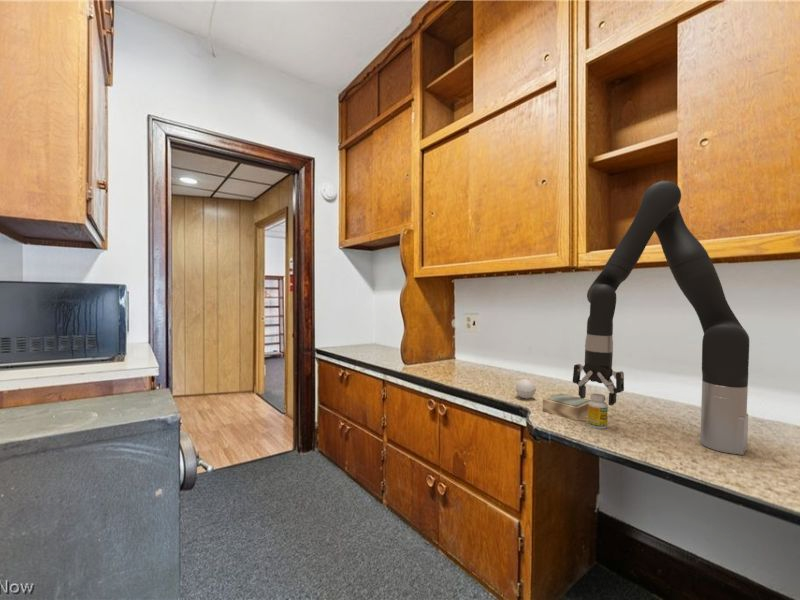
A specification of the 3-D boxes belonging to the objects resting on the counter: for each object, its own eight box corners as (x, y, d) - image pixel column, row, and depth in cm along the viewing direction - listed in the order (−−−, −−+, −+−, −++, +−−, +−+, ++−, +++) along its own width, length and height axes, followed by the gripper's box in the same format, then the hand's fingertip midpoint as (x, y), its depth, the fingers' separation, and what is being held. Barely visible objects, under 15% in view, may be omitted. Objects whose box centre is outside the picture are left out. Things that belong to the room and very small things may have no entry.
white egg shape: (531, 402, 140) (531, 382, 139) (512, 398, 145) (512, 379, 144) (541, 396, 147) (541, 377, 147) (522, 393, 152) (523, 375, 152)
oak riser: (594, 412, 129) (594, 400, 128) (577, 420, 121) (577, 407, 121) (559, 404, 138) (560, 392, 138) (542, 411, 130) (542, 398, 130)
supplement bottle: (593, 421, 120) (593, 391, 120) (610, 426, 116) (611, 395, 115) (584, 425, 117) (584, 394, 117) (601, 430, 113) (602, 398, 112)
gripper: (629, 351, 113) (626, 405, 114) (581, 344, 124) (579, 393, 125) (618, 354, 108) (616, 410, 109) (570, 347, 119) (568, 397, 120)
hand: (596, 401), depth 117 cm, fingers open, 8 cm apart
